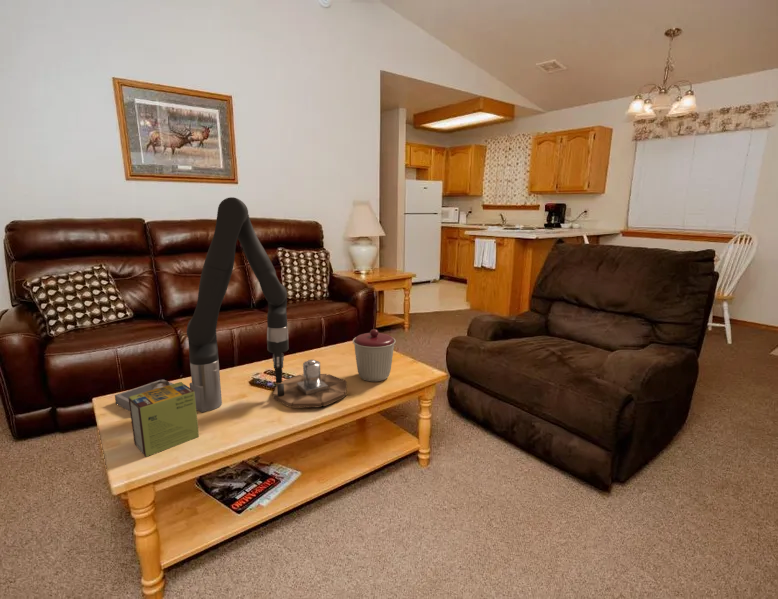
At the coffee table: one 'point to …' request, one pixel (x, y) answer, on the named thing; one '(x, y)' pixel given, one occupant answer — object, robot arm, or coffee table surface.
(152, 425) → the protein box
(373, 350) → the canister
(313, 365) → the silver post on plate
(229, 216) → the robot arm
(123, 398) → the chock frame
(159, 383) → the caster wheel
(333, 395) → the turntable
